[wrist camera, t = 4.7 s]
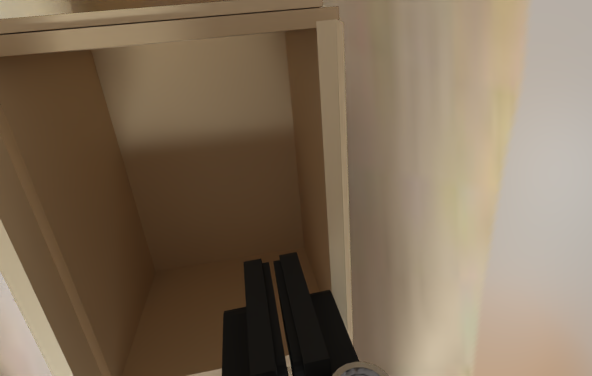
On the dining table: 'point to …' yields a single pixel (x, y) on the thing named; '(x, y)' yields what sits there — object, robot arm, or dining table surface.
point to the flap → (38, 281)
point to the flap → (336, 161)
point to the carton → (169, 165)
